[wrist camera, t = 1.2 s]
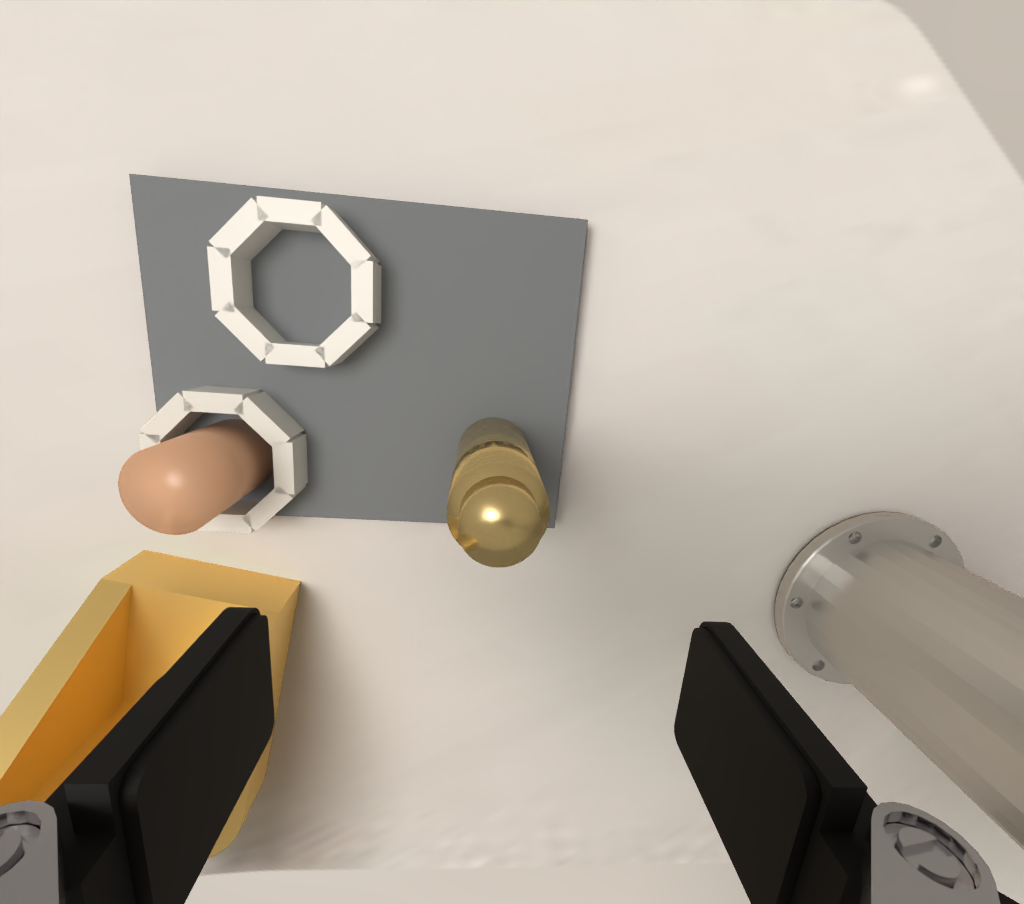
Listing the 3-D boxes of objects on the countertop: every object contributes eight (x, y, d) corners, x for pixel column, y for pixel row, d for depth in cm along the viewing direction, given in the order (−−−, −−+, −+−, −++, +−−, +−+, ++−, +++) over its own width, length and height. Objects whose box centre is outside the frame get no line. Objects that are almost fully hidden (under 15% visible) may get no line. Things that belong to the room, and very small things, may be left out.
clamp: (257, 820, 34) (74, 1226, 19) (121, 802, 33) (-193, 1219, 18) (301, 580, 30) (105, 859, 14) (144, 549, 28) (-255, 816, 13)
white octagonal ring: (382, 216, 23) (373, 207, 21) (380, 367, 25) (372, 371, 23) (225, 201, 23) (202, 190, 21) (236, 357, 25) (216, 360, 23)
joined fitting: (304, 392, 25) (252, 412, 20) (309, 520, 27) (263, 572, 21) (159, 382, 25) (61, 400, 19) (174, 513, 27) (88, 566, 21)
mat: (582, 224, 25) (587, 219, 24) (551, 520, 29) (554, 528, 28) (146, 181, 23) (129, 173, 22) (181, 502, 28) (168, 510, 27)
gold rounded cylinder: (530, 419, 26) (561, 479, 16) (524, 486, 28) (550, 581, 17) (459, 415, 26) (445, 472, 16) (456, 483, 27) (441, 577, 17)
